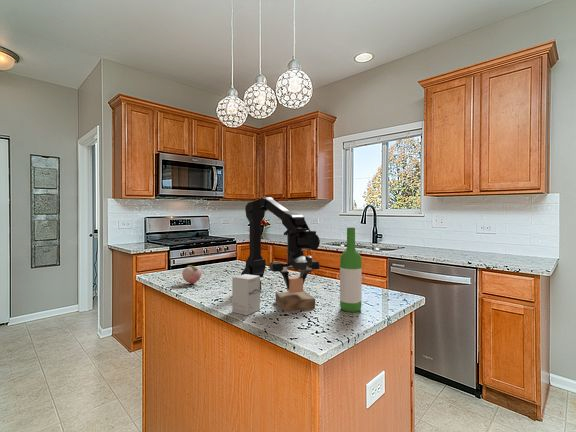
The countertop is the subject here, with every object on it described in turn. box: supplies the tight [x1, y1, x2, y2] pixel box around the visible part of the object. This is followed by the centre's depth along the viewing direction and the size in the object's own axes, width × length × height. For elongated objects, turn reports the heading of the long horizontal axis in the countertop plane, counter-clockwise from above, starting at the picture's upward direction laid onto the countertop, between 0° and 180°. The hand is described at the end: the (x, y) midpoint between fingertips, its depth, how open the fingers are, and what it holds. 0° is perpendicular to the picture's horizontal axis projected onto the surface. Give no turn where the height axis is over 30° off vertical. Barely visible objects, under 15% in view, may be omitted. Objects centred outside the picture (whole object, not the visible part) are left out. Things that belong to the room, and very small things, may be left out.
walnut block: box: [275, 290, 316, 312], centre depth 123 cm, size 12×12×4 cm
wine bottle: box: [339, 227, 363, 313], centre depth 117 cm, size 8×8×30 cm
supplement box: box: [231, 274, 261, 316], centre depth 115 cm, size 7×7×13 cm
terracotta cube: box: [286, 275, 304, 293], centre depth 123 cm, size 5×5×5 cm
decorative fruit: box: [181, 264, 203, 285], centre depth 156 cm, size 9×8×10 cm
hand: (294, 288), depth 123 cm, fingers closed on terracotta cube, 5 cm apart
